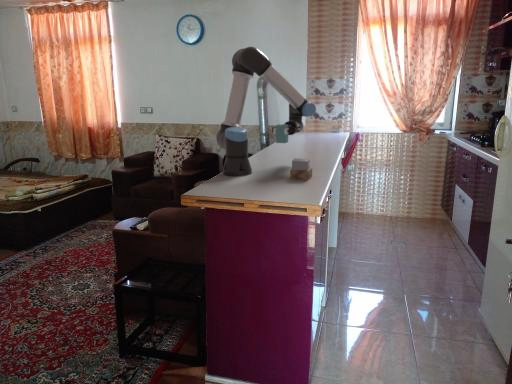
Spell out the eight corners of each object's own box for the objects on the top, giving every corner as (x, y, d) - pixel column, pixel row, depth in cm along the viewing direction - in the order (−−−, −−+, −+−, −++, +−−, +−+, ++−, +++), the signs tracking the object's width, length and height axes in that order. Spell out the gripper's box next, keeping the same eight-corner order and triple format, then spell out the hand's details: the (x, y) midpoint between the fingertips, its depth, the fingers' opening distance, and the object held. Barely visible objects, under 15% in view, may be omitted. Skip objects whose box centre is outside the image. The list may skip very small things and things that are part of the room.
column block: (276, 142, 204) (276, 125, 202) (278, 141, 208) (279, 124, 206) (285, 143, 202) (285, 125, 200) (288, 142, 207) (288, 124, 205)
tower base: (289, 179, 193) (289, 170, 192) (294, 175, 201) (294, 166, 200) (308, 180, 190) (308, 171, 189) (312, 176, 198) (312, 167, 197)
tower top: (292, 170, 192) (292, 160, 191) (294, 167, 199) (294, 158, 198) (307, 170, 190) (307, 161, 189) (309, 167, 197) (309, 158, 196)
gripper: (306, 135, 218) (296, 139, 197) (275, 134, 224) (262, 138, 203) (307, 121, 216) (297, 124, 195) (275, 120, 222) (262, 123, 201)
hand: (279, 131), depth 199 cm, fingers closed on column block, 5 cm apart
